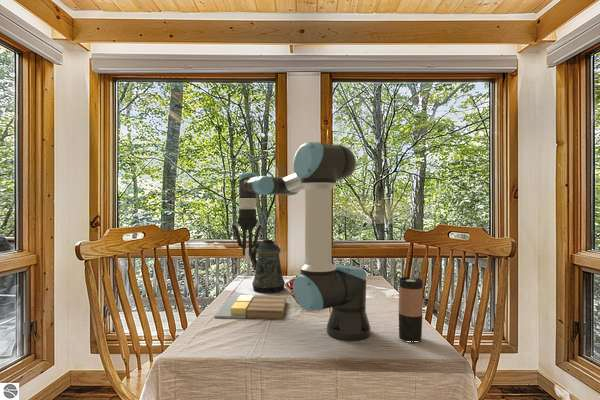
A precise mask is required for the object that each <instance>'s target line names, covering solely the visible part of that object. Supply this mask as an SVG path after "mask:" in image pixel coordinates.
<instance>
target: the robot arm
mask: <svg viewBox="0 0 600 400" xmlns="http://www.w3.org/2000/svg"><path fill="white" fill-rule="evenodd" d="M356 167H357V159H356V156H355V153H354V152H353V151H352V150H351V149H349V148H348V147H347V146H344V145H339V144H338V145H337V144H332V143H331V144H330V143H324V142H319V141H317V142H311V141H310V142H304V143H303V144H301V145H300V146H299V148H298V149H297V150H296V152H295V155H294V157H293V165H292V168H293V172H294V173H292V174H289V175H286V176H283V177H280V176H279V177H278V176H268V175H259V176H257V173H256V172H247V171H246V172H241V173H239V175H238V176H239V177H238V178H239V179H238V207H239V209H238V219H237V222H236V223H234V224H232V228H233V230H234V234H235V237H236V241H237V244H238V247H239V248H242V256H244V264H247V265H249V264H250V263H251V259H250V256H251V255H252V249H253V248H255V246H256V244H257V243H258V240H259V235H260V231H261V229H262V228H263V224H261V223H259V222H258V220H257V196H295V195H297V194H298V193H299V192H300V191H302V190H305V191H304V193H305V194H304V196H305V198H304V199H305V201H304V202H305V203H304V205H305V206H304V209H305V210H304V211H305V212H304V215H305V217H304V220H305V221H304V223H305V224H304V227H305V228H304V229H305V230H304V234H305V235H304V236H305V237H304V243H305V245H304V250H305V251H304V253H305V254H304V256H305V257H304V259H305V260H304V263H303V264H302V265H301V266H300V274H298V275H297V276H295V278H294V280H293V282H292V290H293V295H294V298H295V301H296V302H297V303H298V305H299V307H301V308H302V310H305V311H307V312H320V311H322V310H326V309H330V308H331V311H330V315H329V318H328V320H327V324H326V333H327V335H329V336H330V337H332V338H334V339H338V340H344V341H361V340H365V339H367V338H369V337H370V336H371V333H372V332H371V324H370V322H369V318H368V315H367V311H366V309H367V307H366V306H367V305H366V304H367V275H366V274H367V273H366V271H365V269H364V268H362V267H358V266H352V265H344V264H333V263H332V200H333V199H332V192H333V191H332V190H333V188H334V187H335V186H337V182H340V181H343V180H345V179H348V178H350V177H351V176H352V175H353V174H354V172H355V171H356ZM239 228H241V230H242V238H241V233H240V230H239ZM255 228H256V231H255V235H254V239H253V230H254V229H255ZM247 232H248V246H247Z"/></svg>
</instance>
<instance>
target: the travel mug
mask: <svg viewBox="0 0 600 400" xmlns="http://www.w3.org/2000/svg"><path fill="white" fill-rule="evenodd" d="M398 282H399V283H398V335H399V336H398V338H400V339H402V340H405V341H411V342H412V341H413V342H414V341H420V340H421V341H422V335H423V334H422V332H423V302H424V301H423V286H424V285H423V279H422V278H419V277H417V278H411V277H409V276H402V277H399V280H398ZM400 339H399V340H400Z"/></svg>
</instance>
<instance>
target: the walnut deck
mask: <svg viewBox="0 0 600 400" xmlns="http://www.w3.org/2000/svg"><path fill="white" fill-rule="evenodd" d="M286 306H287V295H257V294H256V295H254V298H253V300H252V302H251V304H250V305H249V307H248V309H247V317H246V319H283V318H284V314H285V309H286Z"/></svg>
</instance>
